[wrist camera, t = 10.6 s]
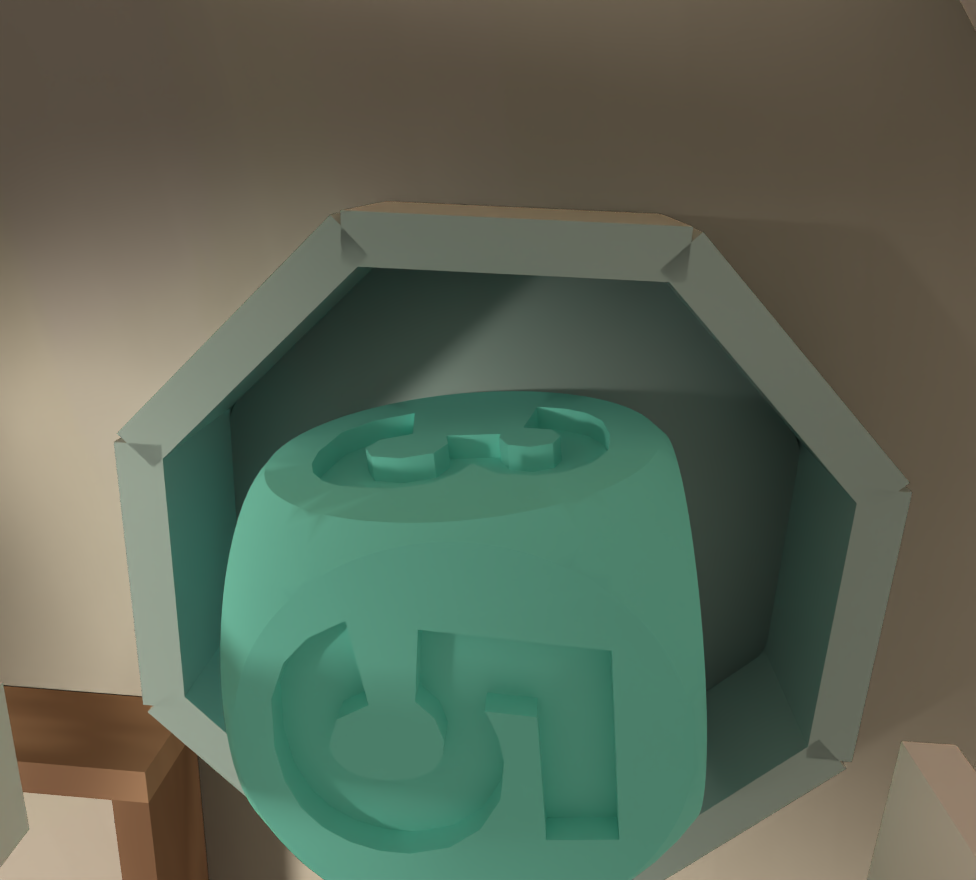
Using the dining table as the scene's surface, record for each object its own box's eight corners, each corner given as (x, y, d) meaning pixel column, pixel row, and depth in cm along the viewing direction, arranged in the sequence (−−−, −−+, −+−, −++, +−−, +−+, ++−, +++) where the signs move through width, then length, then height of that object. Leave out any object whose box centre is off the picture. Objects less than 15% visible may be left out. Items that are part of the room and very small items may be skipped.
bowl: (228, 745, 25) (161, 867, 20) (187, 192, 19) (86, 198, 15) (766, 790, 24) (814, 927, 19) (872, 223, 19) (968, 239, 14)
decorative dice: (652, 669, 22) (708, 937, 14) (360, 678, 22) (264, 936, 15) (646, 379, 19) (710, 515, 12) (317, 399, 20) (176, 540, 12)
